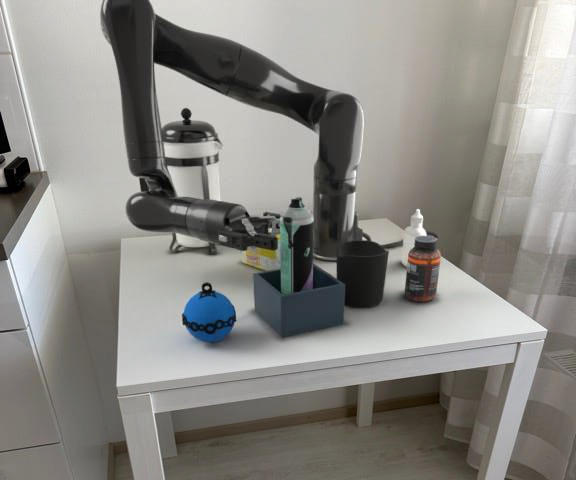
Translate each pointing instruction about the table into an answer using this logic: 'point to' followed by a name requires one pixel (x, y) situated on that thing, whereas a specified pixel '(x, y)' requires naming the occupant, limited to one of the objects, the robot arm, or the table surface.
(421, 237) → the supplement bottle
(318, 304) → the bin
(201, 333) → the ornament
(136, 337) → the table surface
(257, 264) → the candy box
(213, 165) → the coffee press
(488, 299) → the table surface
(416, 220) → the eye dropper bottle
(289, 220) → the spray can
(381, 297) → the pen holder
